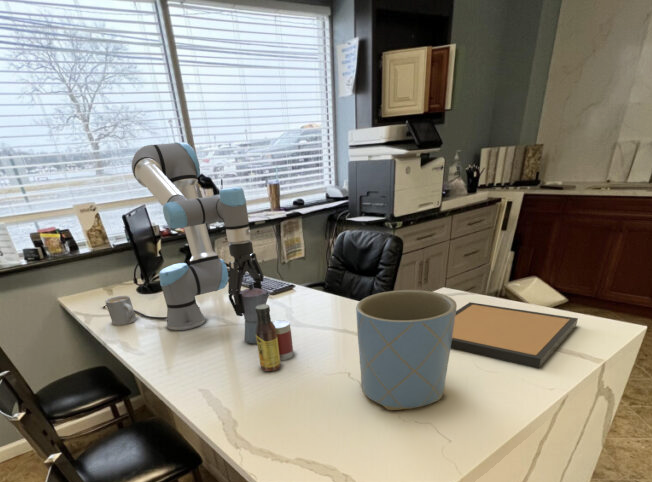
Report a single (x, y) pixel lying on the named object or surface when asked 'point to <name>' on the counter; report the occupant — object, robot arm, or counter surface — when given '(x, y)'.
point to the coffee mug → (120, 310)
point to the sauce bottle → (267, 339)
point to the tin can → (284, 339)
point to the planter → (405, 346)
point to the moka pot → (251, 309)
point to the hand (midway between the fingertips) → (250, 306)
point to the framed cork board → (509, 333)
